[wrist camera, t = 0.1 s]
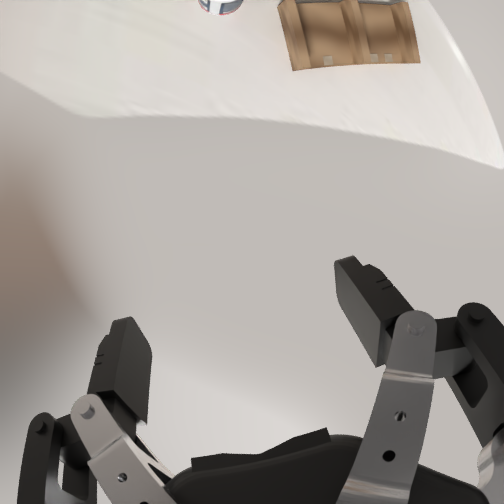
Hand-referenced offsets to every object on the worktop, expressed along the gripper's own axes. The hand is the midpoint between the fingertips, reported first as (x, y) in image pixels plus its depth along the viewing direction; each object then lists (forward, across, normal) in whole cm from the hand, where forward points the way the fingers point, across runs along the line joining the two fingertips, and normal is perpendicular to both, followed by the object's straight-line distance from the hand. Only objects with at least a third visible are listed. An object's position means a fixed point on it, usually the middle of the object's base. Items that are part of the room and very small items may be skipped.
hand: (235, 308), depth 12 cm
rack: (+29, -21, -13) cm, 38 cm away
